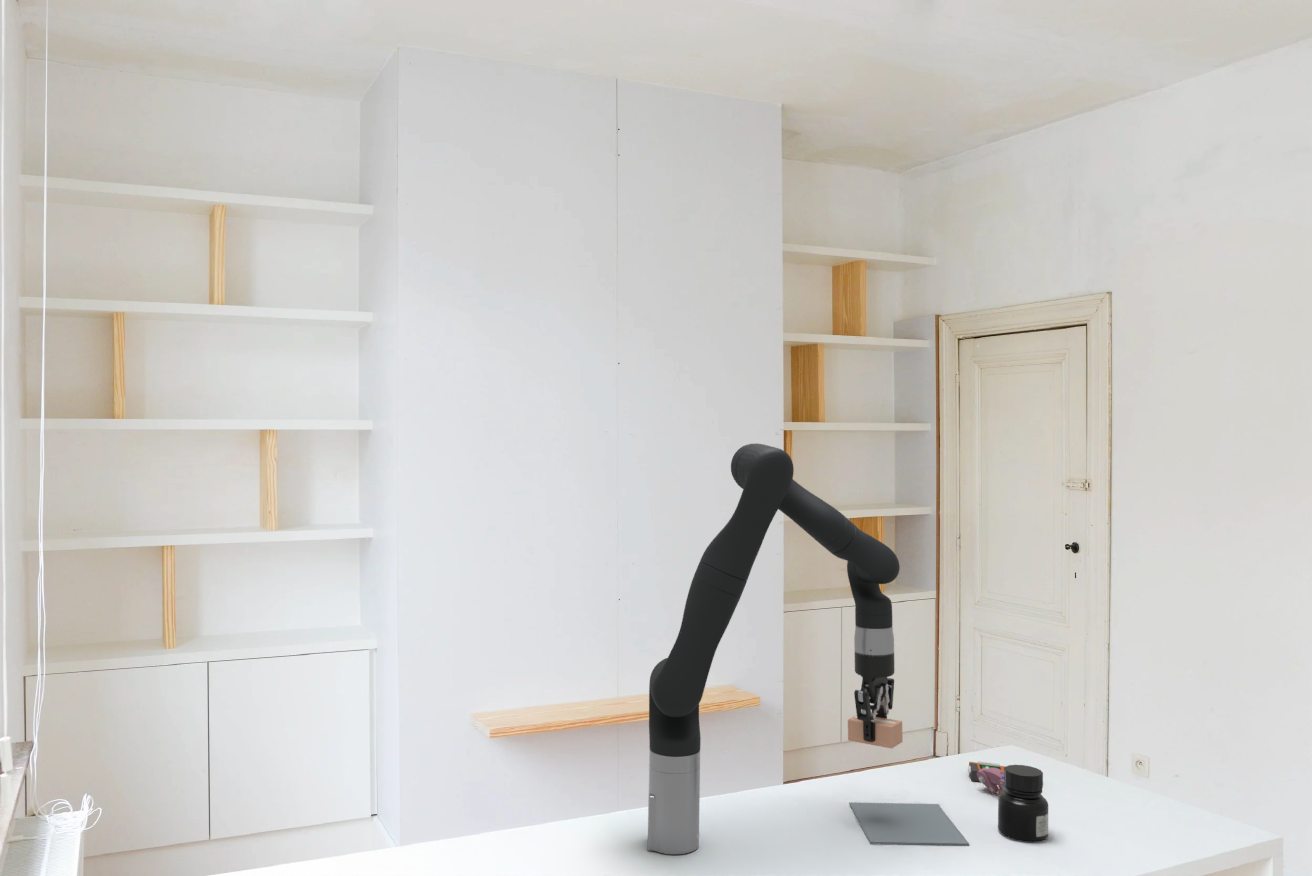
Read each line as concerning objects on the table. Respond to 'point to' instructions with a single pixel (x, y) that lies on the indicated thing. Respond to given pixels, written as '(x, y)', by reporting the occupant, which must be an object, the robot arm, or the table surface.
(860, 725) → the box
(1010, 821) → the ink bottle
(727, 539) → the robot arm
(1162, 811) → the table surface
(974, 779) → the electronic device
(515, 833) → the table surface
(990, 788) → the video game controller
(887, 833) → the mat
